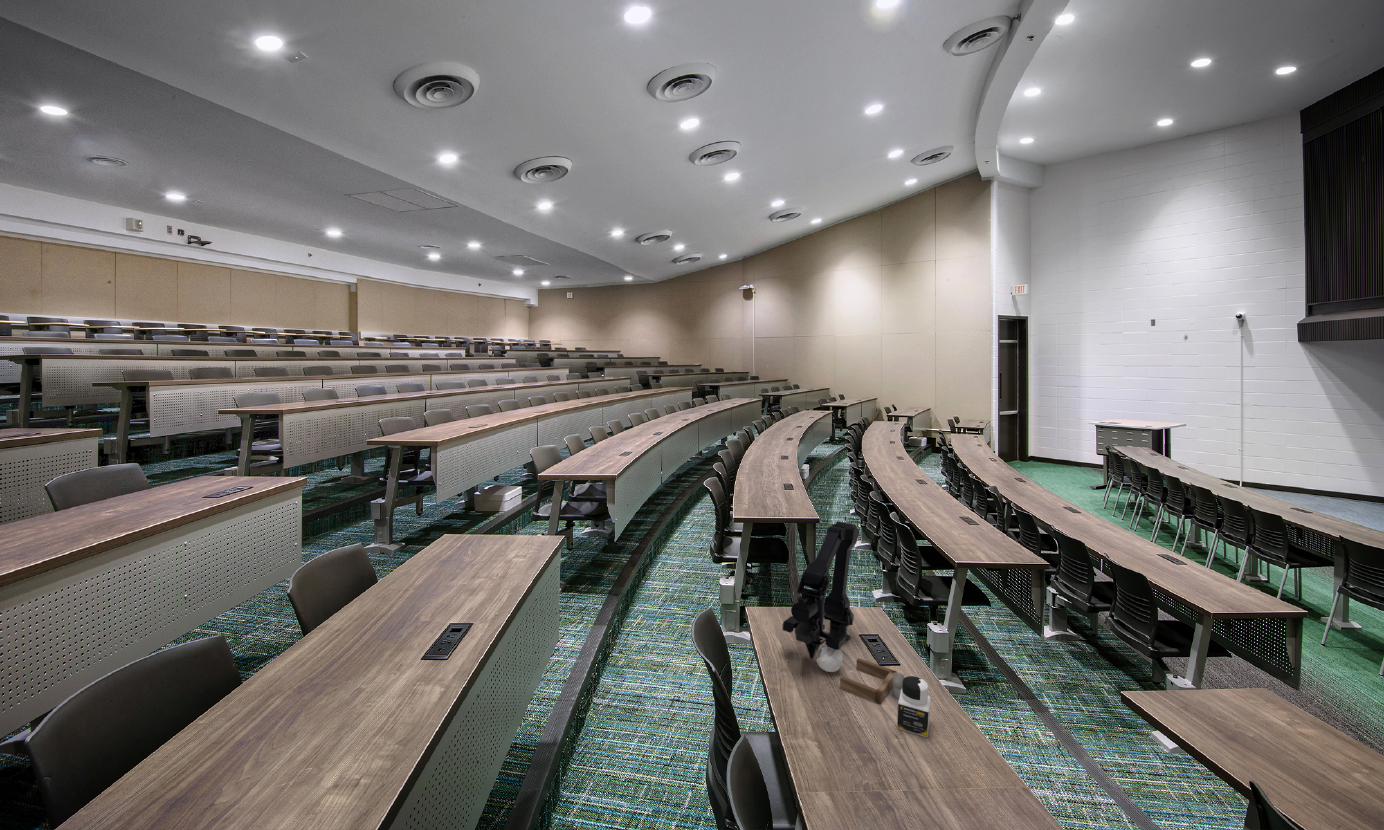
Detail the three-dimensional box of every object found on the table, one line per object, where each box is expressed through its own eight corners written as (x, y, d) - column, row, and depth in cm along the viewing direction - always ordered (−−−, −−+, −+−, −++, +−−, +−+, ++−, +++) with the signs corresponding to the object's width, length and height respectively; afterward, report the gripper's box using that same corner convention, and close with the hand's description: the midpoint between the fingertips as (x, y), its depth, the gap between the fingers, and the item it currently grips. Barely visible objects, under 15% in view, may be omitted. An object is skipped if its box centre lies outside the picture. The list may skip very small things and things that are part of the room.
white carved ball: (816, 660, 165) (817, 637, 164) (841, 665, 163) (843, 641, 162) (815, 674, 157) (816, 650, 156) (841, 679, 155) (843, 654, 154)
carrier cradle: (858, 667, 162) (858, 648, 161) (910, 686, 152) (911, 666, 152) (839, 688, 151) (840, 668, 150) (895, 710, 141) (896, 689, 141)
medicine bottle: (896, 728, 134) (898, 683, 133) (900, 712, 140) (902, 669, 139) (927, 738, 131) (929, 692, 130) (929, 721, 137) (931, 677, 136)
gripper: (774, 609, 161) (772, 658, 163) (831, 629, 150) (829, 681, 151) (791, 597, 170) (790, 644, 171) (847, 615, 158) (844, 665, 160)
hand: (812, 658), depth 163 cm, fingers closed
